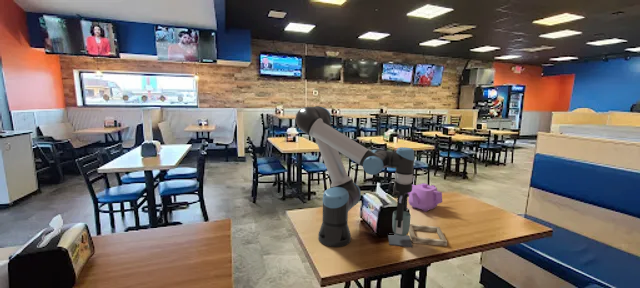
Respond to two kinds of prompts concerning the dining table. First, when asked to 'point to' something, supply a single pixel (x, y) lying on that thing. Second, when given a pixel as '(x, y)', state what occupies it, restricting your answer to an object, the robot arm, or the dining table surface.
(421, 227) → the holder
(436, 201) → the teapot
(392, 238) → the coaster
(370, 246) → the dining table surface
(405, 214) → the cup
